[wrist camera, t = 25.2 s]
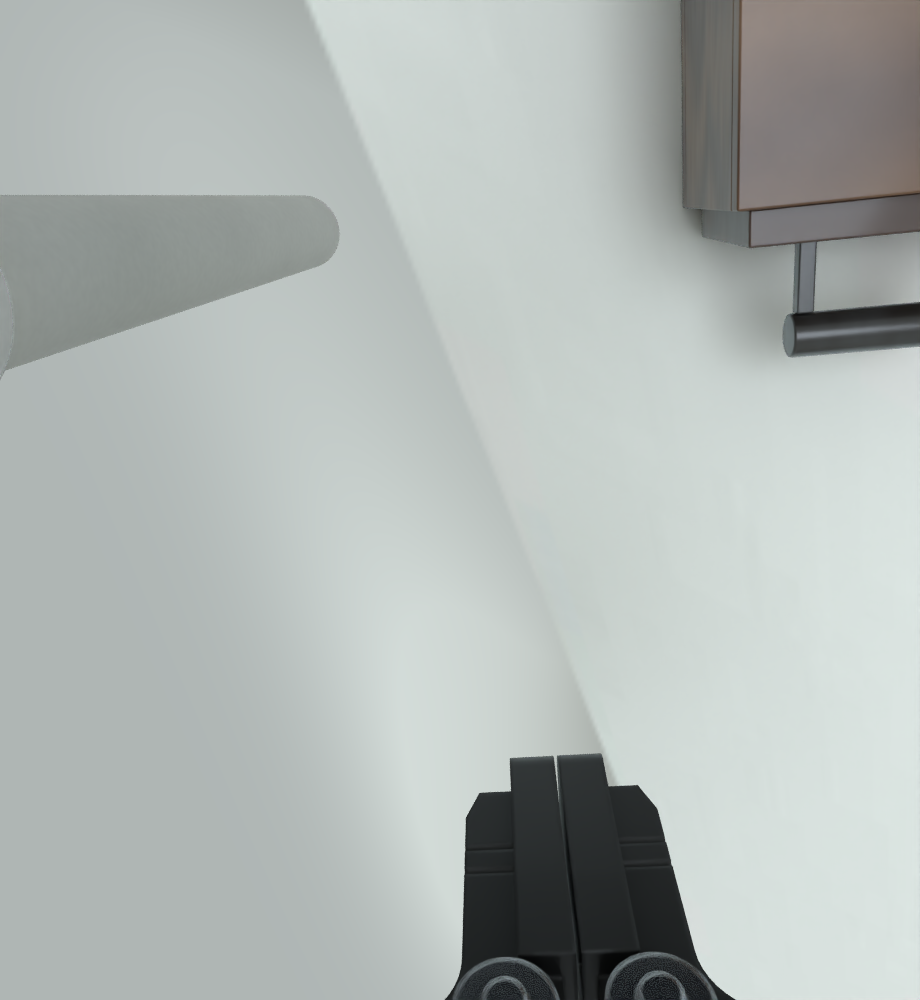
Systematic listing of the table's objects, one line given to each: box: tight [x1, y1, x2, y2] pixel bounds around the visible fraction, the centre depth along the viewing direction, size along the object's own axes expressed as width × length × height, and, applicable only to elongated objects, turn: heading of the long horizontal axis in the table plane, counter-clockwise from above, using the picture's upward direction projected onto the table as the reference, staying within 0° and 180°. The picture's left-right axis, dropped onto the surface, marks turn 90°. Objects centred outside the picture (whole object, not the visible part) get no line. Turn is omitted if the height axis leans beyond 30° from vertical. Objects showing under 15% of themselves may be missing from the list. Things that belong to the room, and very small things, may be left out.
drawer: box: [702, 193, 920, 357], centre depth 28 cm, size 18×11×8 cm, turn 6°
